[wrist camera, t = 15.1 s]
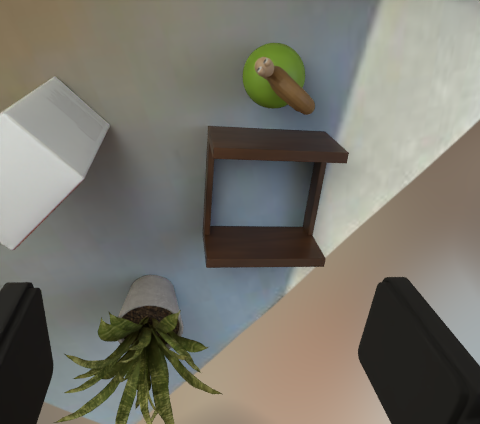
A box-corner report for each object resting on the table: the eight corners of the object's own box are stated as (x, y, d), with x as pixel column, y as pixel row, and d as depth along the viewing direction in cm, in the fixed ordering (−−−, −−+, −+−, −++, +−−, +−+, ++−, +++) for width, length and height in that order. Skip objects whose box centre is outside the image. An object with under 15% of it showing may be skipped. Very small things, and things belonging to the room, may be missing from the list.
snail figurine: (256, 18, 36) (289, 28, 25) (307, 66, 38) (357, 92, 28) (218, 69, 37) (235, 98, 27) (270, 112, 40) (303, 153, 29)
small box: (58, 180, 40) (11, 254, 29) (-1, 136, 37) (-79, 197, 26) (113, 124, 38) (86, 179, 27) (55, 73, 35) (-2, 109, 24)
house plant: (51, 297, 46) (-4, 432, 32) (127, 216, 43) (102, 326, 28) (151, 351, 52) (142, 485, 38) (225, 283, 49) (245, 402, 34)
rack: (208, 125, 40) (213, 147, 34) (325, 131, 41) (349, 152, 36) (202, 233, 45) (206, 267, 39) (306, 234, 47) (324, 266, 41)
